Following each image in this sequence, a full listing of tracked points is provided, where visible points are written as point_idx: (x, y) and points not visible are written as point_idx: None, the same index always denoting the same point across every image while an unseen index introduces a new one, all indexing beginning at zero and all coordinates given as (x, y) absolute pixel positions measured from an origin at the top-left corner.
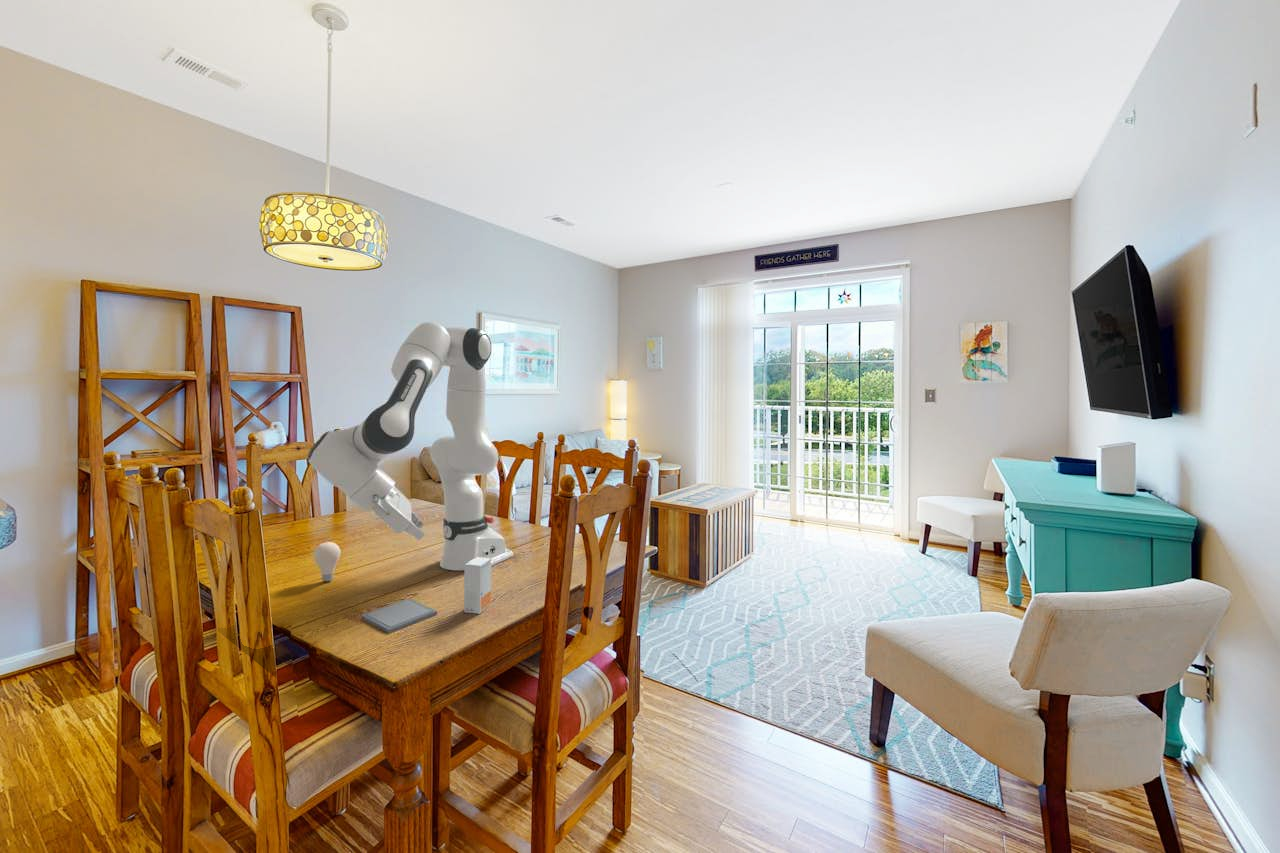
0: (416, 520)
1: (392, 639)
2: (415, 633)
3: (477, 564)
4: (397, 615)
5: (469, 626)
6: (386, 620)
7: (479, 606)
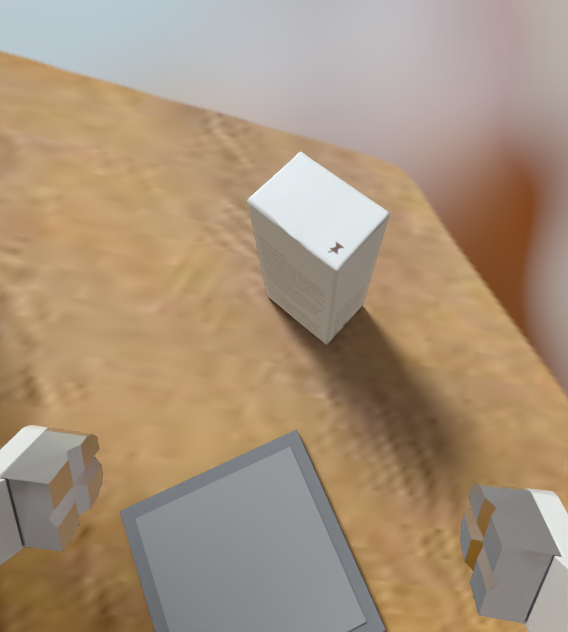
0: (10, 505)
1: (442, 618)
2: (424, 529)
3: (368, 218)
4: (269, 580)
5: (440, 352)
6: (298, 630)
7: (365, 295)
